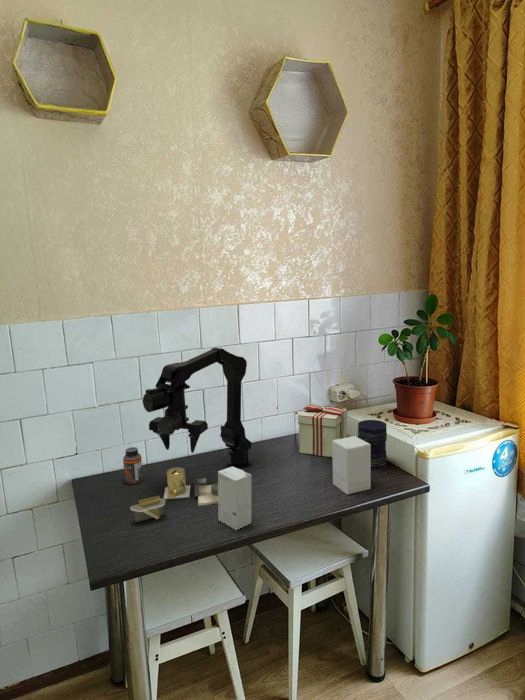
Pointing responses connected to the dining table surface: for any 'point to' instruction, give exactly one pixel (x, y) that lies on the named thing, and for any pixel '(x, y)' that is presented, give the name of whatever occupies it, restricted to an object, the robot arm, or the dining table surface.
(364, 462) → the supplement box
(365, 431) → the storage jar
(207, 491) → the cream slotted block
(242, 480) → the skincare box
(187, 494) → the grey mat
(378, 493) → the dining table surface
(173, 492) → the brass bell
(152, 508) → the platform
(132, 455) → the supplement bottle
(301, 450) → the gift box
